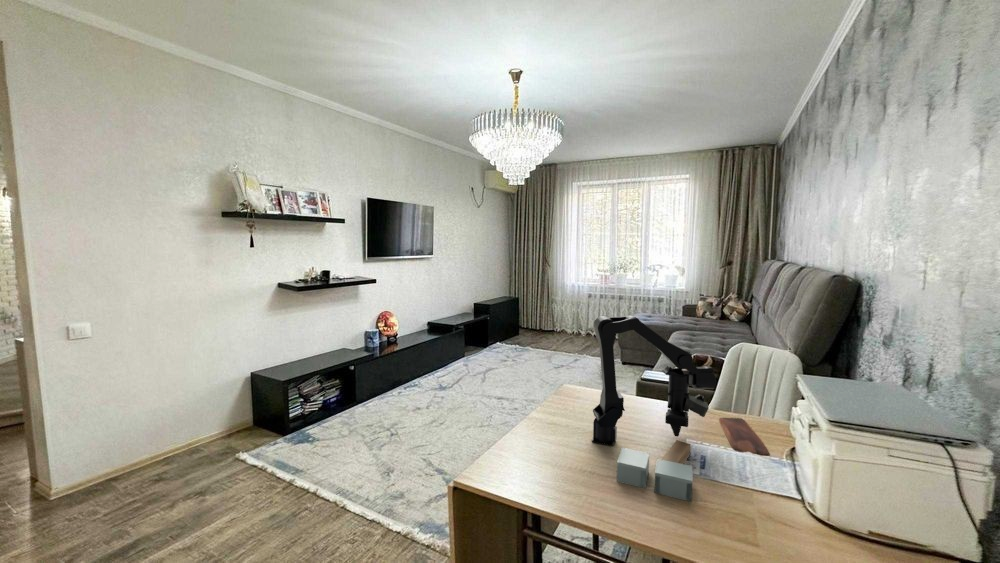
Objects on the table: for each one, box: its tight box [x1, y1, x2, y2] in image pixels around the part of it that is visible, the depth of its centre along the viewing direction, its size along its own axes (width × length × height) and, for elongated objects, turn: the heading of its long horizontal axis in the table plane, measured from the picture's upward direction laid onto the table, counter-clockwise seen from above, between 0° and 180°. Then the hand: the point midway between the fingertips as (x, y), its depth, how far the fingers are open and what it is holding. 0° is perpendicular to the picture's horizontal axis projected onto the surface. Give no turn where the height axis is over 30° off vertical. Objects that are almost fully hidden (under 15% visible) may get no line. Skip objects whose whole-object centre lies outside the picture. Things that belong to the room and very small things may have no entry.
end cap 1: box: [616, 447, 650, 489], centre depth 107 cm, size 8×7×5 cm
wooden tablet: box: [718, 417, 770, 456], centre depth 131 cm, size 26×2×10 cm
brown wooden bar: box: [660, 439, 692, 464], centre depth 113 cm, size 4×16×4 cm, turn 140°
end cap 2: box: [654, 458, 693, 503], centre depth 101 cm, size 8×7×5 cm
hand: (676, 435), depth 126 cm, fingers closed
